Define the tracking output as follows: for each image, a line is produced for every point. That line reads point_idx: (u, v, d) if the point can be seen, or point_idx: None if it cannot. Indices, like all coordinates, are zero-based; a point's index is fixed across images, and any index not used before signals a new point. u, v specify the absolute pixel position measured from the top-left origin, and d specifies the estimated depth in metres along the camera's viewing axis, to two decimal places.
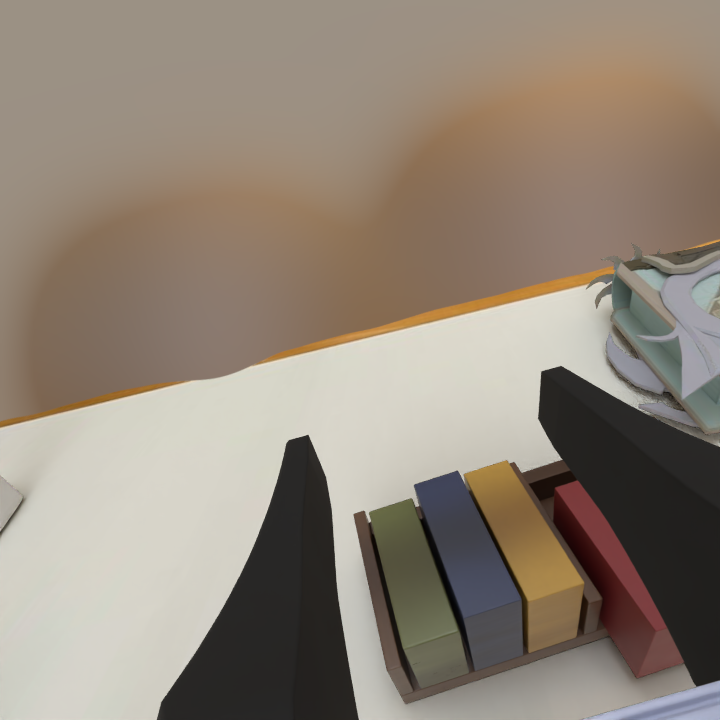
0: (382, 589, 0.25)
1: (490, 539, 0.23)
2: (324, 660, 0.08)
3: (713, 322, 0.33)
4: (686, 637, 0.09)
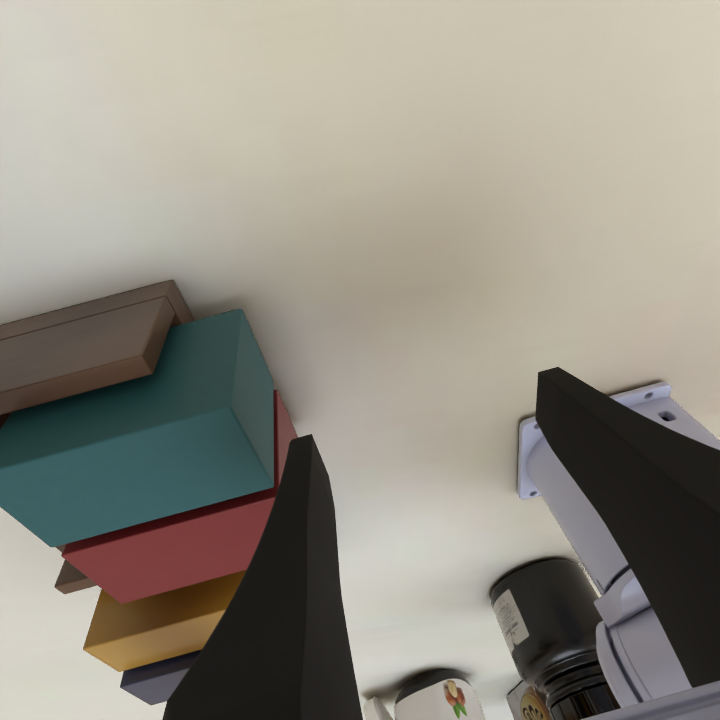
0: None
1: None
2: (329, 658, 0.08)
3: None
4: (682, 638, 0.09)
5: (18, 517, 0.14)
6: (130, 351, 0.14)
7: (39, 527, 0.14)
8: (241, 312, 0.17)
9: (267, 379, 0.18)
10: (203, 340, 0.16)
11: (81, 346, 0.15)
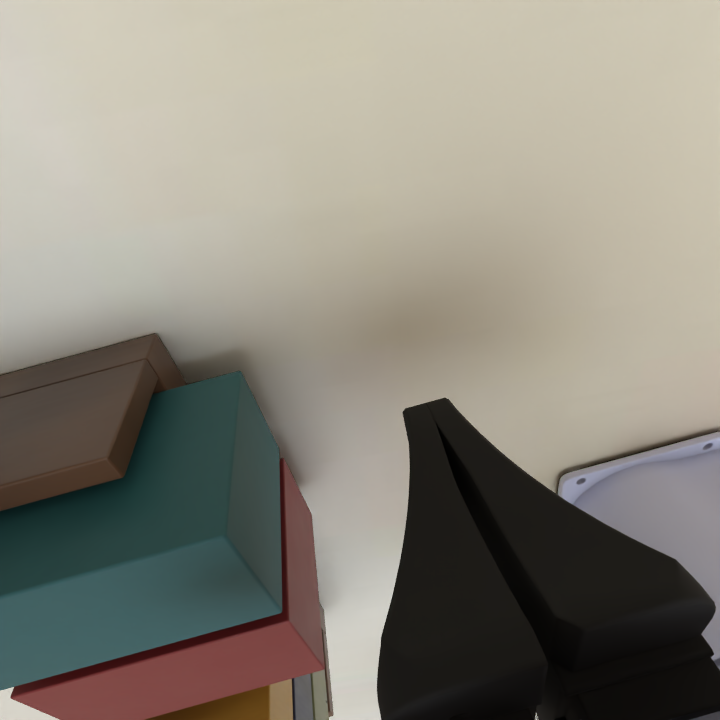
0: None
1: None
2: None
3: None
4: None
5: None
6: (94, 448, 0.10)
7: None
8: (240, 377, 0.14)
9: (272, 452, 0.15)
10: (192, 418, 0.13)
11: (33, 434, 0.11)
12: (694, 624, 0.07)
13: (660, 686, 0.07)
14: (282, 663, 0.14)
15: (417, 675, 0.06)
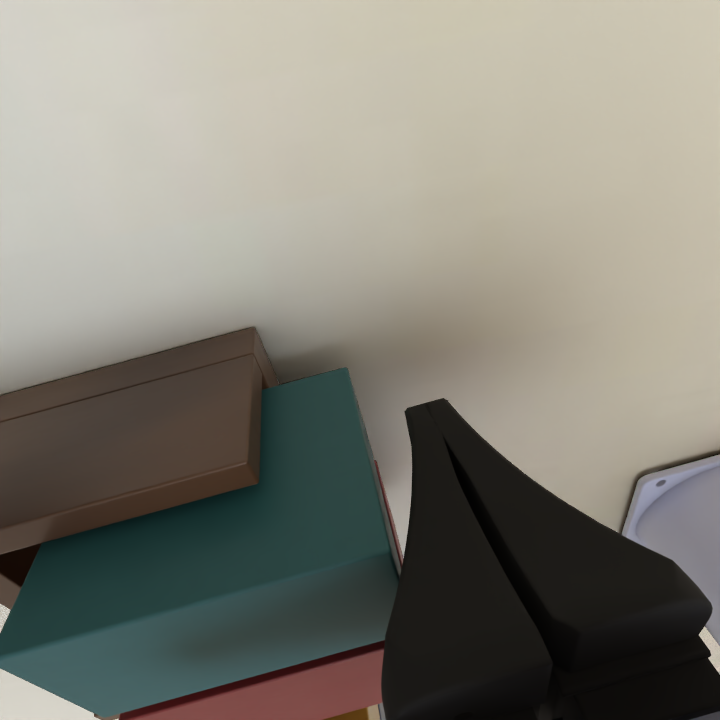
0: None
1: None
2: None
3: None
4: None
5: (61, 694, 0.09)
6: (228, 452, 0.09)
7: (90, 701, 0.10)
8: (348, 374, 0.13)
9: (372, 455, 0.14)
10: (307, 418, 0.12)
11: (149, 436, 0.10)
12: (691, 625, 0.07)
13: (657, 687, 0.07)
14: None
15: (422, 674, 0.06)
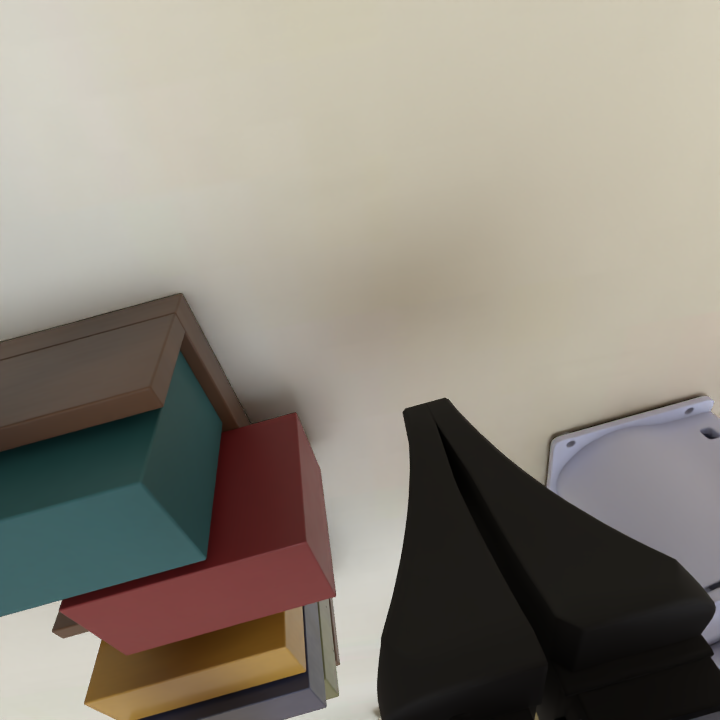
0: None
1: (236, 710, 0.18)
2: None
3: None
4: None
5: None
6: (137, 381, 0.12)
7: None
8: (178, 354, 0.15)
9: (212, 424, 0.17)
10: None
11: (80, 374, 0.13)
12: (694, 624, 0.07)
13: (660, 686, 0.07)
14: (298, 587, 0.15)
15: (417, 675, 0.06)
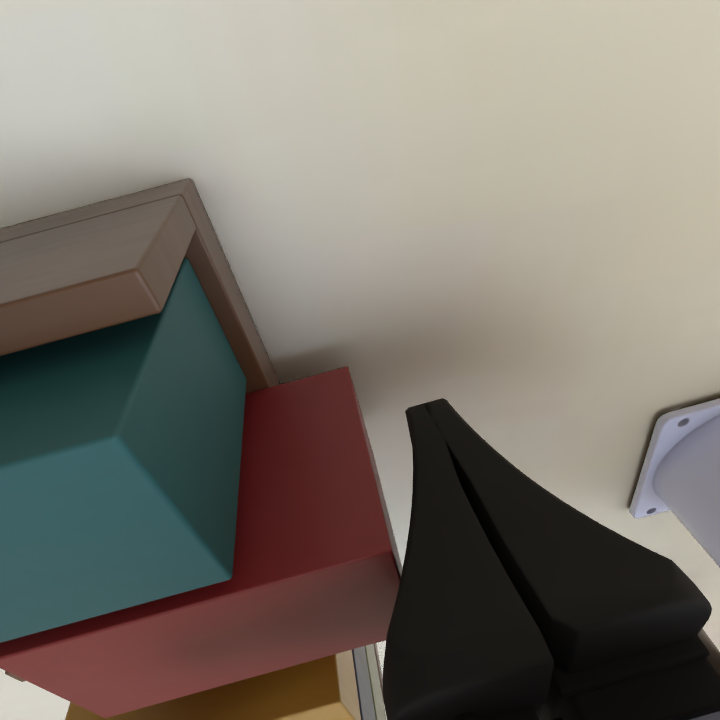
0: None
1: None
2: None
3: None
4: None
5: None
6: (116, 264, 0.07)
7: None
8: (186, 263, 0.10)
9: (234, 377, 0.11)
10: None
11: (23, 266, 0.08)
12: (690, 626, 0.07)
13: (656, 687, 0.07)
14: (367, 619, 0.10)
15: (423, 673, 0.06)
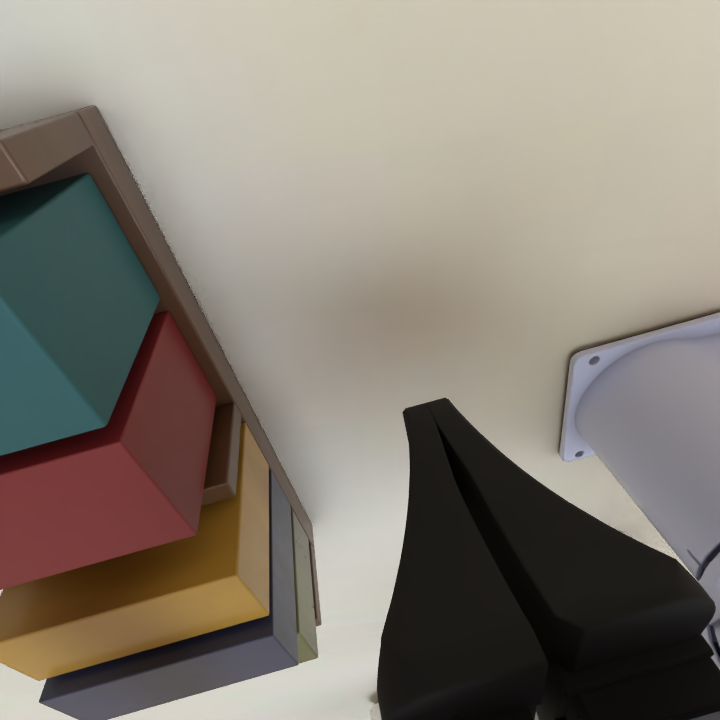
0: None
1: (180, 663, 0.14)
2: None
3: None
4: None
5: None
6: None
7: None
8: (87, 177, 0.11)
9: (141, 287, 0.13)
10: (9, 204, 0.10)
11: None
12: (694, 624, 0.07)
13: (660, 686, 0.07)
14: (136, 517, 0.11)
15: (417, 675, 0.06)
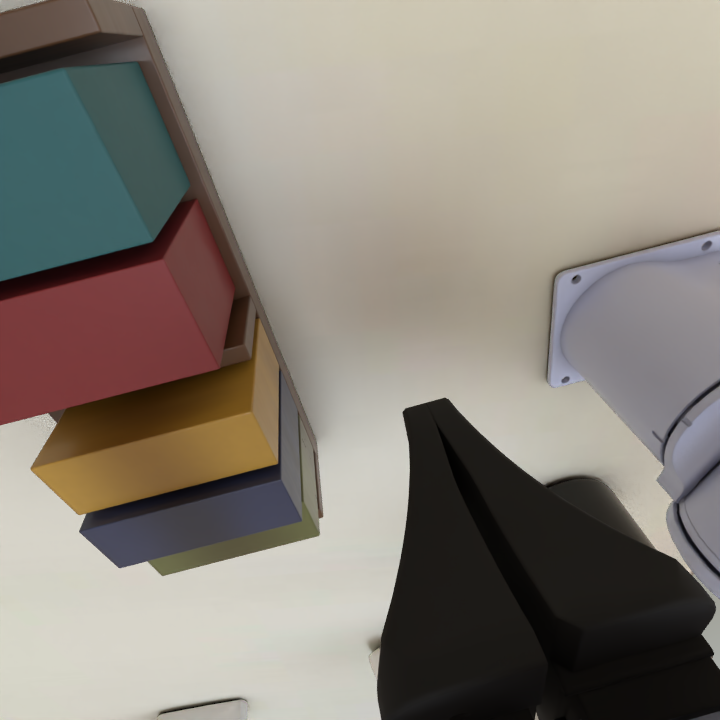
0: None
1: (201, 502, 0.16)
2: None
3: None
4: None
5: None
6: None
7: None
8: (136, 63, 0.14)
9: (176, 167, 0.15)
10: None
11: None
12: (694, 624, 0.07)
13: (660, 686, 0.07)
14: (170, 342, 0.13)
15: (417, 674, 0.06)
